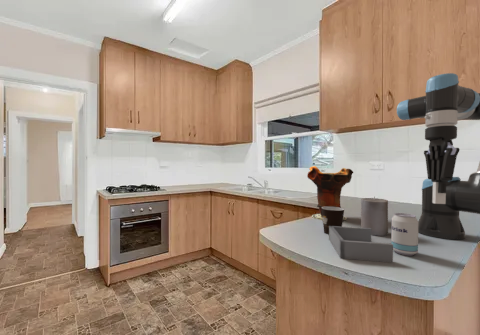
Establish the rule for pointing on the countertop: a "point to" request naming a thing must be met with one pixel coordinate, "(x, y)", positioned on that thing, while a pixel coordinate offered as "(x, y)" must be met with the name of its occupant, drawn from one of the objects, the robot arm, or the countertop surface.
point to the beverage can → (404, 234)
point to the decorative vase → (329, 187)
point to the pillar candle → (375, 215)
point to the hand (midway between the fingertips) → (438, 203)
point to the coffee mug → (332, 217)
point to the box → (359, 244)
